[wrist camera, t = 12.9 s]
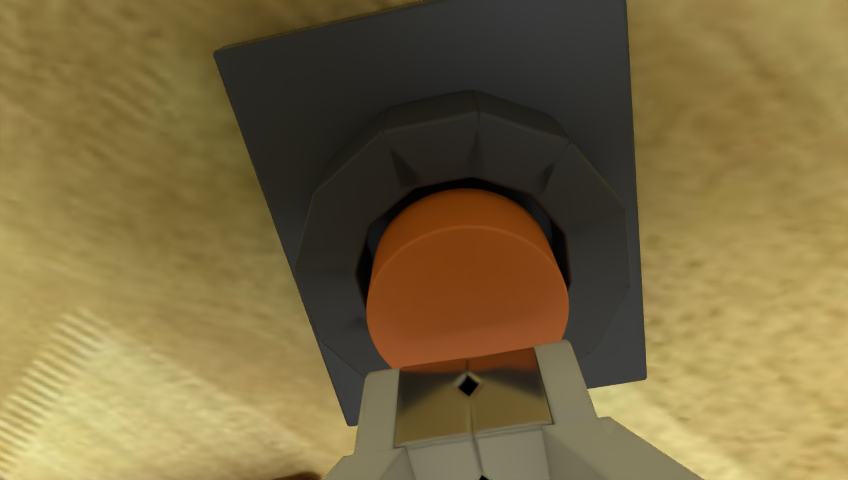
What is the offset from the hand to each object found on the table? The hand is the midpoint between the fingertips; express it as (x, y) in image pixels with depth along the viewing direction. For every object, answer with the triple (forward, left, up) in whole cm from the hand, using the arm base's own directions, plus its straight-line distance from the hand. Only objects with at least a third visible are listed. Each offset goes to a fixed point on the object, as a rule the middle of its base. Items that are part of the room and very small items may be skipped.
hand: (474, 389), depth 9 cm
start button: (0, 0, -4) cm, 4 cm away
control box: (0, 0, -6) cm, 6 cm away
